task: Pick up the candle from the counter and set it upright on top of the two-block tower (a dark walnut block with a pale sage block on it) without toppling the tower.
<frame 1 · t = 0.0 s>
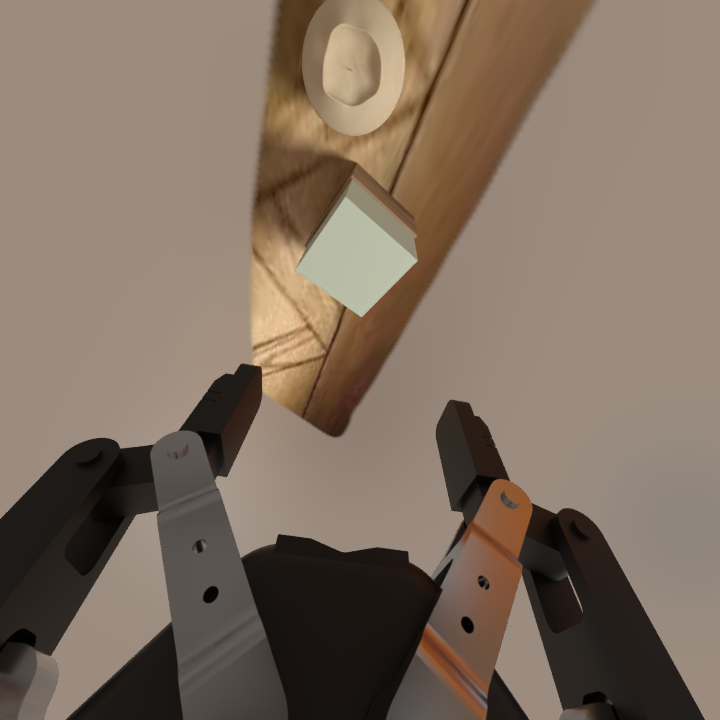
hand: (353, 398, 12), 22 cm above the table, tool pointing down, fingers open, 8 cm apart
candle: (363, 76, 22), on the table
base block: (363, 221, 29), on the table, touching top block
top block: (359, 240, 25), point 5 cm above the table, touching base block
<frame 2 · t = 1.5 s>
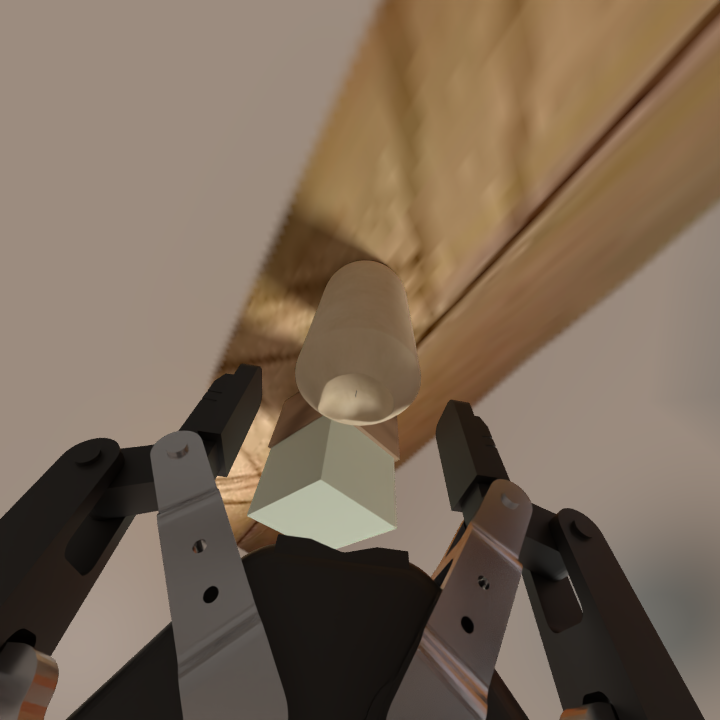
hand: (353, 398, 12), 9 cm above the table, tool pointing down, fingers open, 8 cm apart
candle: (365, 298, 20), on the table
base block: (341, 405, 26), on the table, touching top block
top block: (332, 452, 22), point 5 cm above the table, touching base block
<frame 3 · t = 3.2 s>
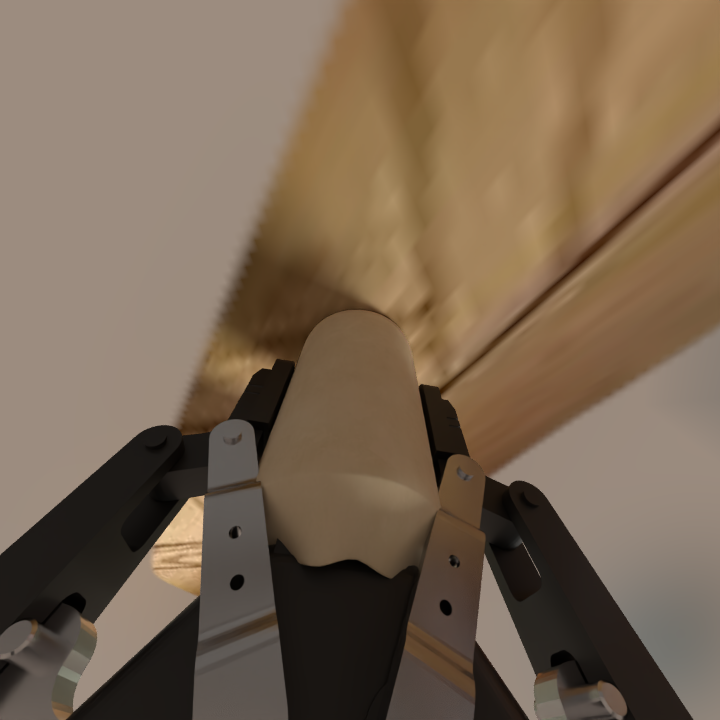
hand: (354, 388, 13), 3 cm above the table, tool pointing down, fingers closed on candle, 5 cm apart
candle: (357, 354, 15), on the table, touching gripper
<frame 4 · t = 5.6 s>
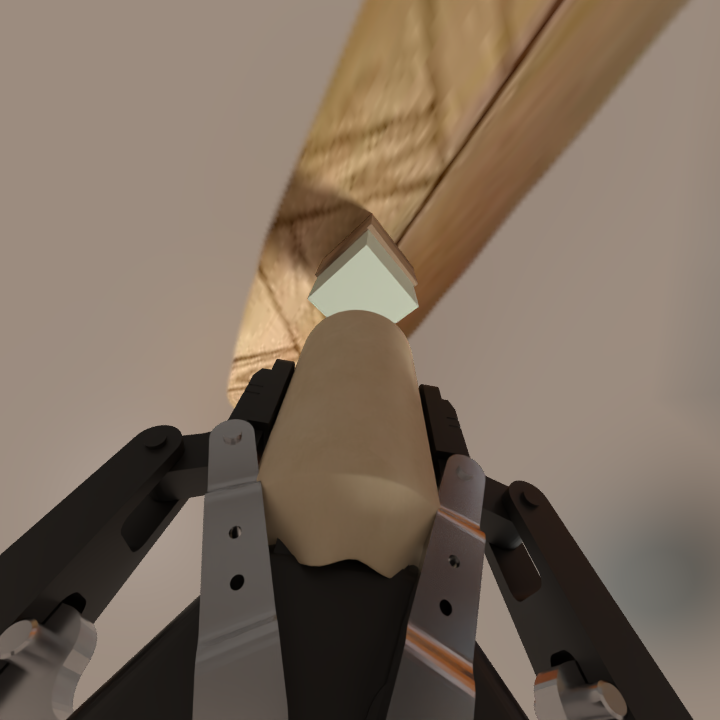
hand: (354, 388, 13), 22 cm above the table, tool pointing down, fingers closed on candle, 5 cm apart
candle: (357, 354, 15), point 20 cm above the table, touching gripper
base block: (368, 262, 32), on the table, touching top block
top block: (365, 280, 28), point 5 cm above the table, touching base block
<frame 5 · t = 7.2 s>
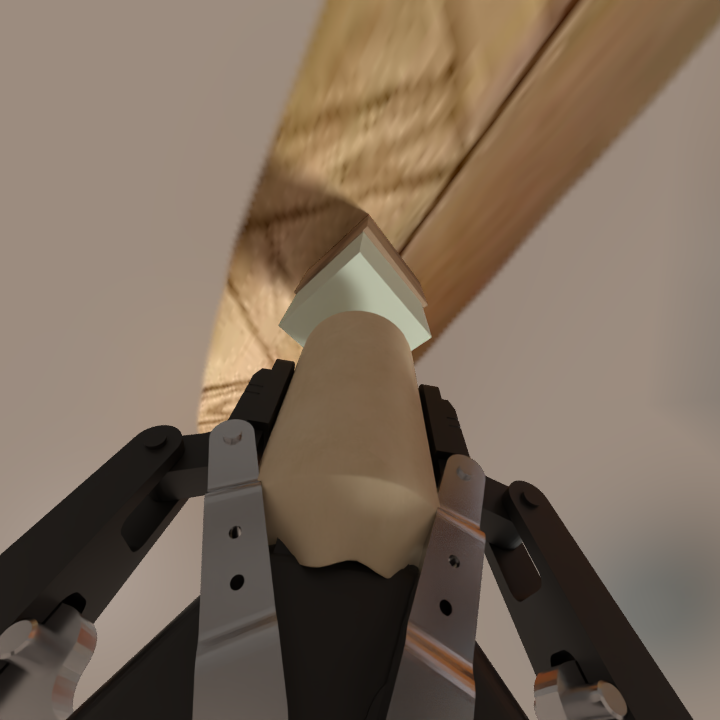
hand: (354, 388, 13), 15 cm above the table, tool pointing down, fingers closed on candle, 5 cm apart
candle: (357, 355, 15), point 12 cm above the table, touching gripper
base block: (363, 276, 26), on the table, touching top block
top block: (359, 298, 21), point 5 cm above the table, touching base block
when the fingers open (13 cm above the table, at t = 8.5 s): candle stays where it is, resting on top block.
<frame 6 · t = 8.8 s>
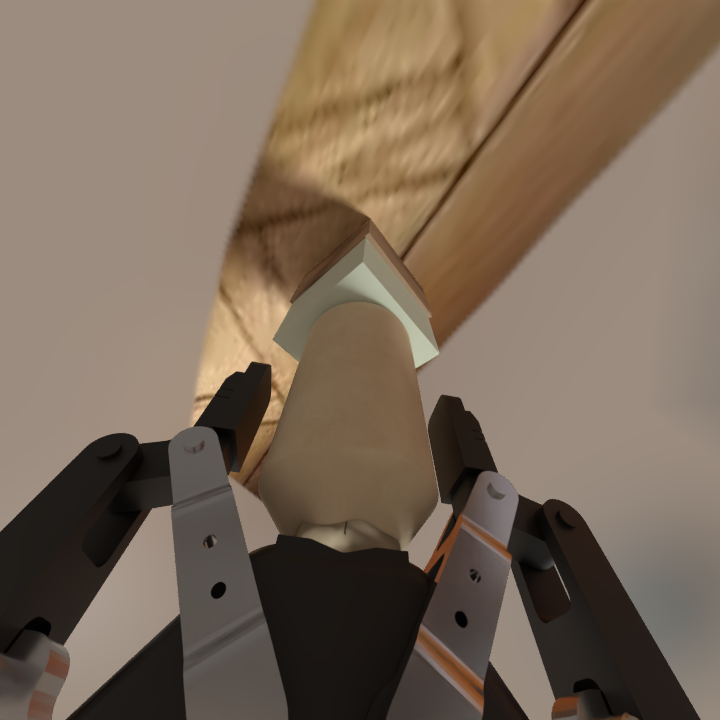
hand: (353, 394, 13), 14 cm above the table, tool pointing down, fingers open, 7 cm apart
candle: (359, 344, 16), point 10 cm above the table, touching top block
base block: (363, 283, 24), on the table, touching top block
top block: (360, 307, 20), point 5 cm above the table, touching base block, candle
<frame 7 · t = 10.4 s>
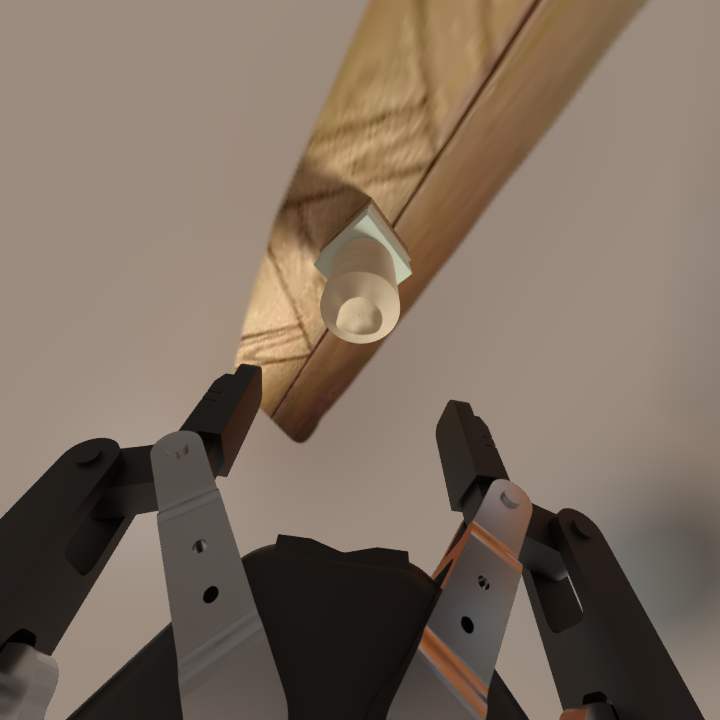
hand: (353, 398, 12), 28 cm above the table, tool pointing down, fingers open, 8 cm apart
candle: (364, 267, 27), point 10 cm above the table, touching top block
base block: (366, 243, 35), on the table, touching top block
top block: (364, 254, 31), point 5 cm above the table, touching base block, candle
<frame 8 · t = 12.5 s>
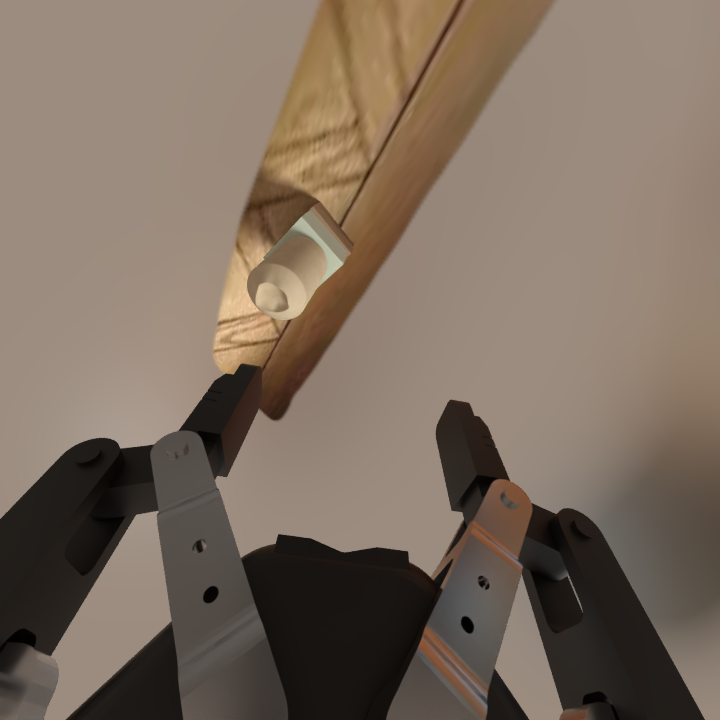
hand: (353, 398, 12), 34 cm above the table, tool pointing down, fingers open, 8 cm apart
candle: (304, 260, 33), point 10 cm above the table, touching top block
base block: (319, 240, 41), on the table, touching top block
top block: (311, 249, 37), point 5 cm above the table, touching base block, candle
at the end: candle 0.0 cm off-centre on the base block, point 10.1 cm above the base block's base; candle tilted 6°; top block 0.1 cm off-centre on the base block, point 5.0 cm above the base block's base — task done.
